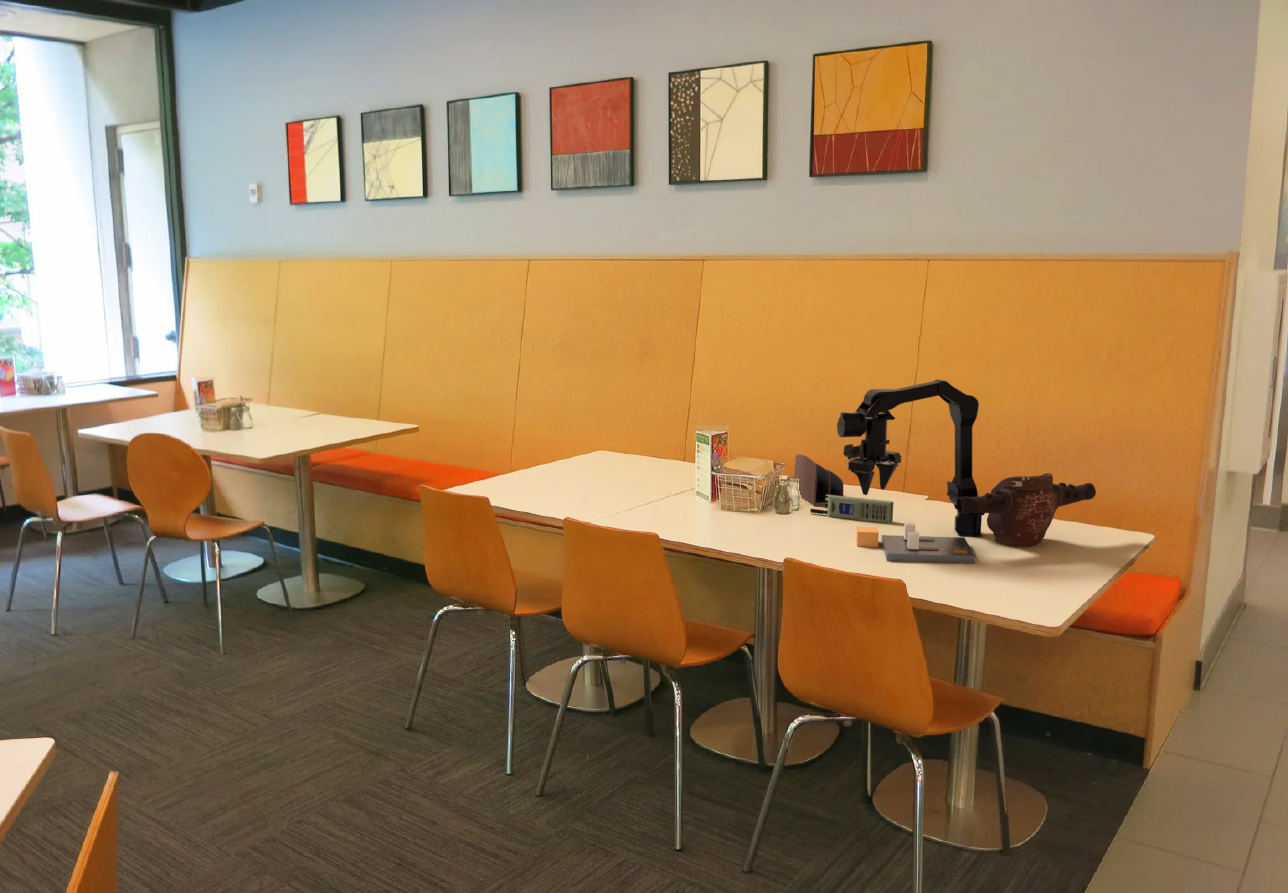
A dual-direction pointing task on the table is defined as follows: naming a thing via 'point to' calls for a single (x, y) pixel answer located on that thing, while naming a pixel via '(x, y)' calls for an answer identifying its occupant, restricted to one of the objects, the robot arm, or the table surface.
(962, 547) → the breaker panel
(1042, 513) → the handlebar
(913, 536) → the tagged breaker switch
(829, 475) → the letter holder
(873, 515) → the handheld radio
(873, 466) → the robot arm
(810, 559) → the table surface
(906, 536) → the switch
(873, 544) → the cap
